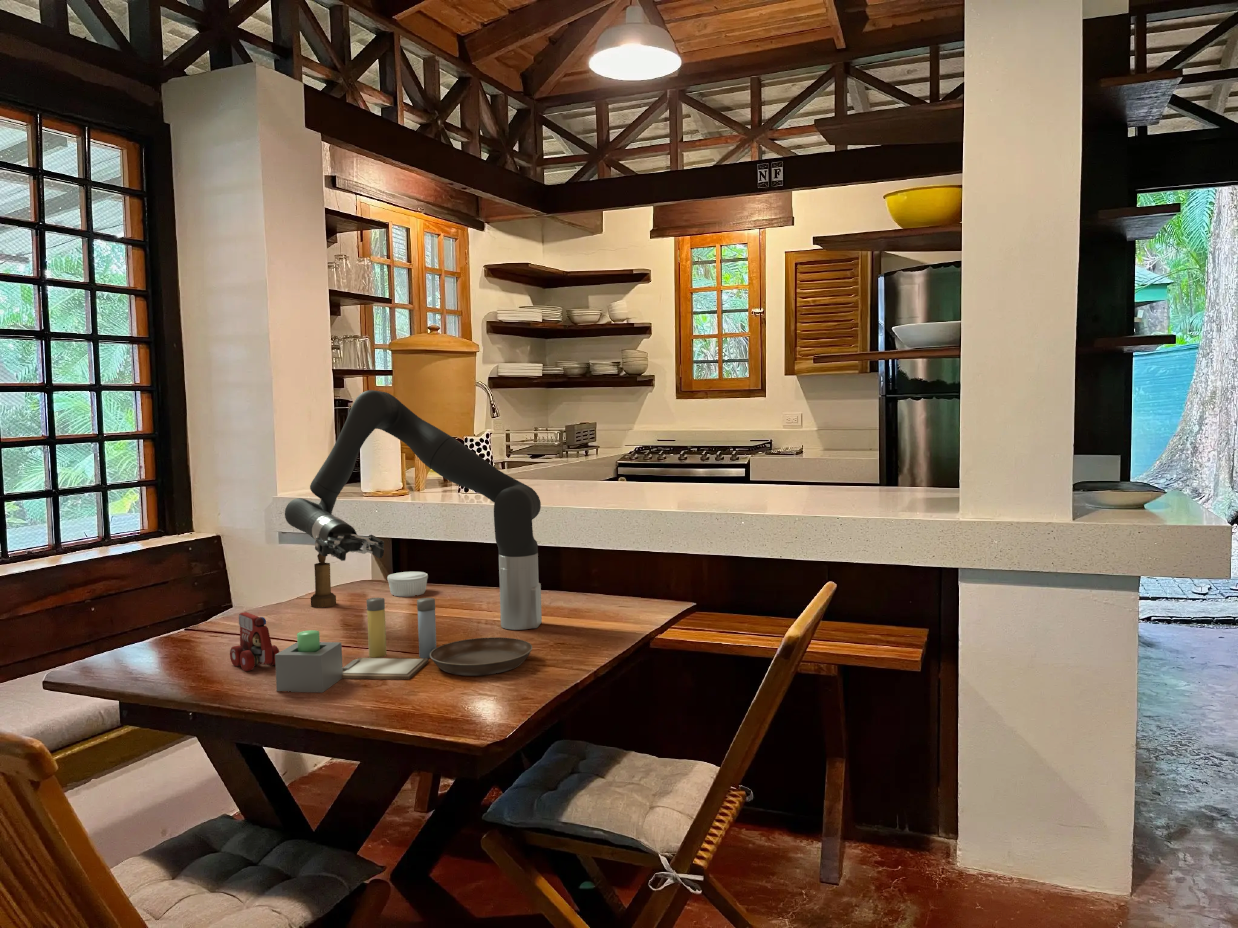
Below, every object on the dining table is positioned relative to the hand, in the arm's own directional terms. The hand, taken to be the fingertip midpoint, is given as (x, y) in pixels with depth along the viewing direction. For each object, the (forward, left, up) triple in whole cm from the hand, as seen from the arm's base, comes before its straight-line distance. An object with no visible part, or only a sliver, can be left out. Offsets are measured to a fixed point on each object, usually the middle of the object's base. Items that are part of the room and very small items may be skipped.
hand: (363, 555), depth 198 cm
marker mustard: (-5, +7, -20) cm, 22 cm away
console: (0, +27, -20) cm, 34 cm away
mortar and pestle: (+28, -39, -21) cm, 52 cm away
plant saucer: (-29, +12, -21) cm, 38 cm away
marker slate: (-16, +7, -20) cm, 27 cm away
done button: (0, +27, -14) cm, 30 cm away
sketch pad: (-10, +17, -20) cm, 28 cm away
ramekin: (+10, -54, -21) cm, 59 cm away
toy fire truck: (+18, +15, -21) cm, 31 cm away
